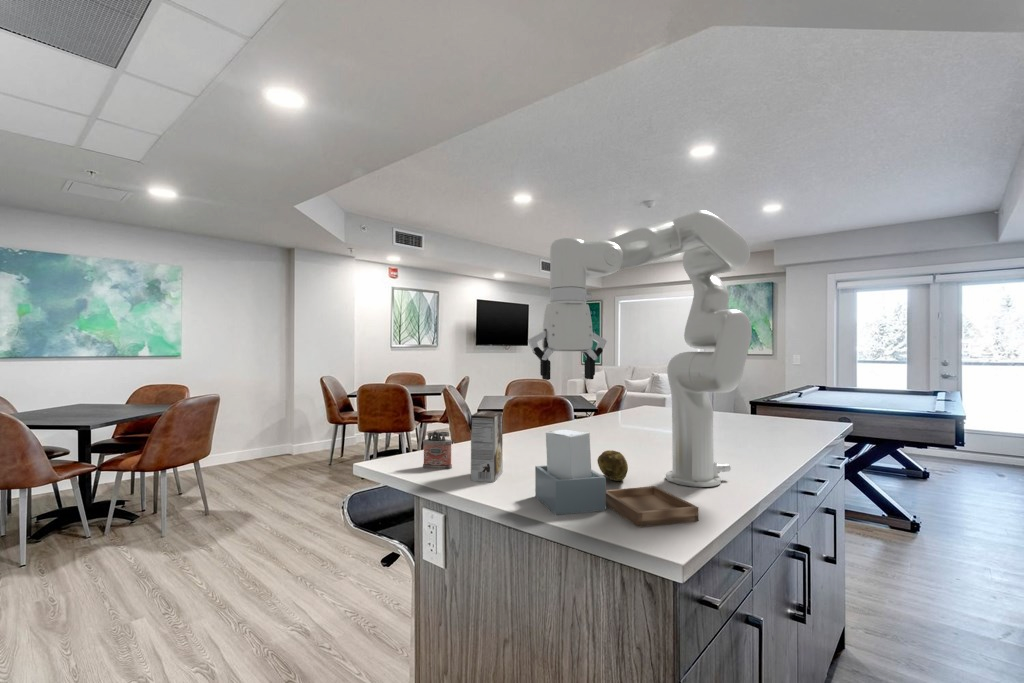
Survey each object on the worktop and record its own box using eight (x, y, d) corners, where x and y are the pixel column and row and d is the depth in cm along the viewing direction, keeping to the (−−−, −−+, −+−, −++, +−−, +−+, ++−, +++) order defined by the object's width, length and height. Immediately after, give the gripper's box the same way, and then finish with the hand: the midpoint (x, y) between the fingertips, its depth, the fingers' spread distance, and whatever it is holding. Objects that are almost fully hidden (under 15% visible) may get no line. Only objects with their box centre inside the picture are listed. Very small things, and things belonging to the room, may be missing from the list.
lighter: (421, 468, 128) (421, 431, 129) (425, 465, 132) (425, 429, 132) (449, 469, 127) (449, 432, 127) (453, 466, 130) (453, 430, 131)
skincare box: (593, 505, 97) (593, 433, 97) (571, 511, 94) (570, 435, 94) (566, 495, 104) (566, 427, 104) (545, 500, 101) (545, 430, 101)
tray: (654, 497, 102) (654, 486, 102) (698, 520, 88) (698, 507, 88) (601, 502, 99) (601, 490, 99) (638, 527, 85) (638, 513, 85)
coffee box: (479, 471, 125) (479, 410, 125) (503, 473, 124) (503, 411, 124) (469, 480, 116) (469, 414, 116) (495, 482, 115) (495, 415, 115)
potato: (636, 476, 120) (635, 445, 120) (623, 490, 108) (623, 454, 109) (603, 473, 124) (603, 442, 124) (588, 485, 112) (588, 451, 112)
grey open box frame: (580, 492, 106) (580, 463, 107) (605, 510, 94) (605, 477, 94) (535, 496, 104) (535, 466, 104) (555, 515, 91) (555, 481, 92)
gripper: (597, 301, 106) (597, 378, 105) (523, 298, 101) (523, 378, 101) (613, 297, 99) (613, 379, 98) (534, 294, 94) (534, 380, 94)
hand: (567, 379), depth 99 cm, fingers open, 9 cm apart
